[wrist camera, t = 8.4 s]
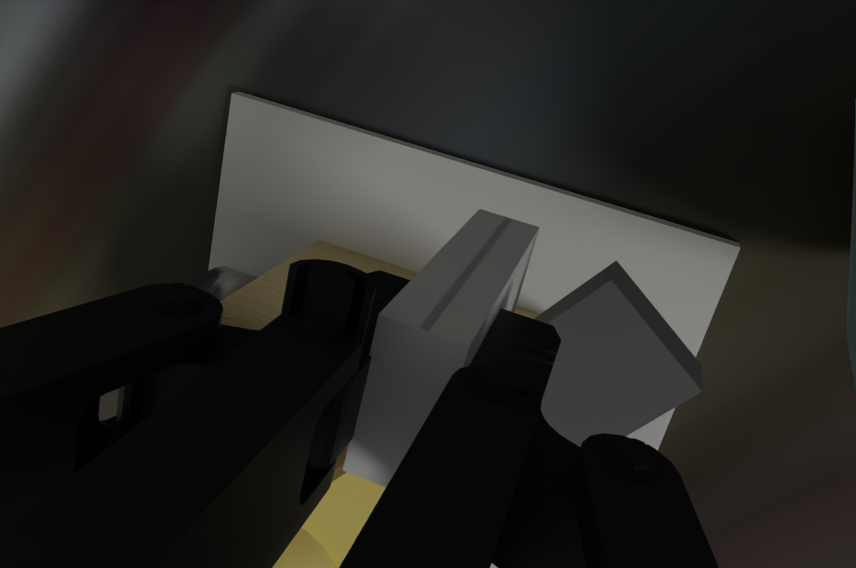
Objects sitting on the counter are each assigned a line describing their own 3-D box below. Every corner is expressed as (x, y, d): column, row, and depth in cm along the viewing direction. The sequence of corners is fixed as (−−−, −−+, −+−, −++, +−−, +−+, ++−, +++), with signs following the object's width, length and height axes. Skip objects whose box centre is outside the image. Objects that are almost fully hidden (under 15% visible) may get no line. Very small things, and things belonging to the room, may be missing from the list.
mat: (239, 91, 30) (231, 93, 30) (739, 242, 27) (740, 247, 26) (188, 471, 37) (180, 478, 37) (580, 634, 34) (578, 644, 33)
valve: (228, 208, 31) (24, 296, 22) (678, 360, 28) (674, 544, 18) (201, 400, 35) (15, 549, 25) (600, 556, 31) (561, 799, 22)
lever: (592, 229, 16) (584, 248, 15) (724, 392, 17) (727, 424, 15) (187, 528, 22) (157, 559, 21) (288, 644, 23) (265, 682, 21)
